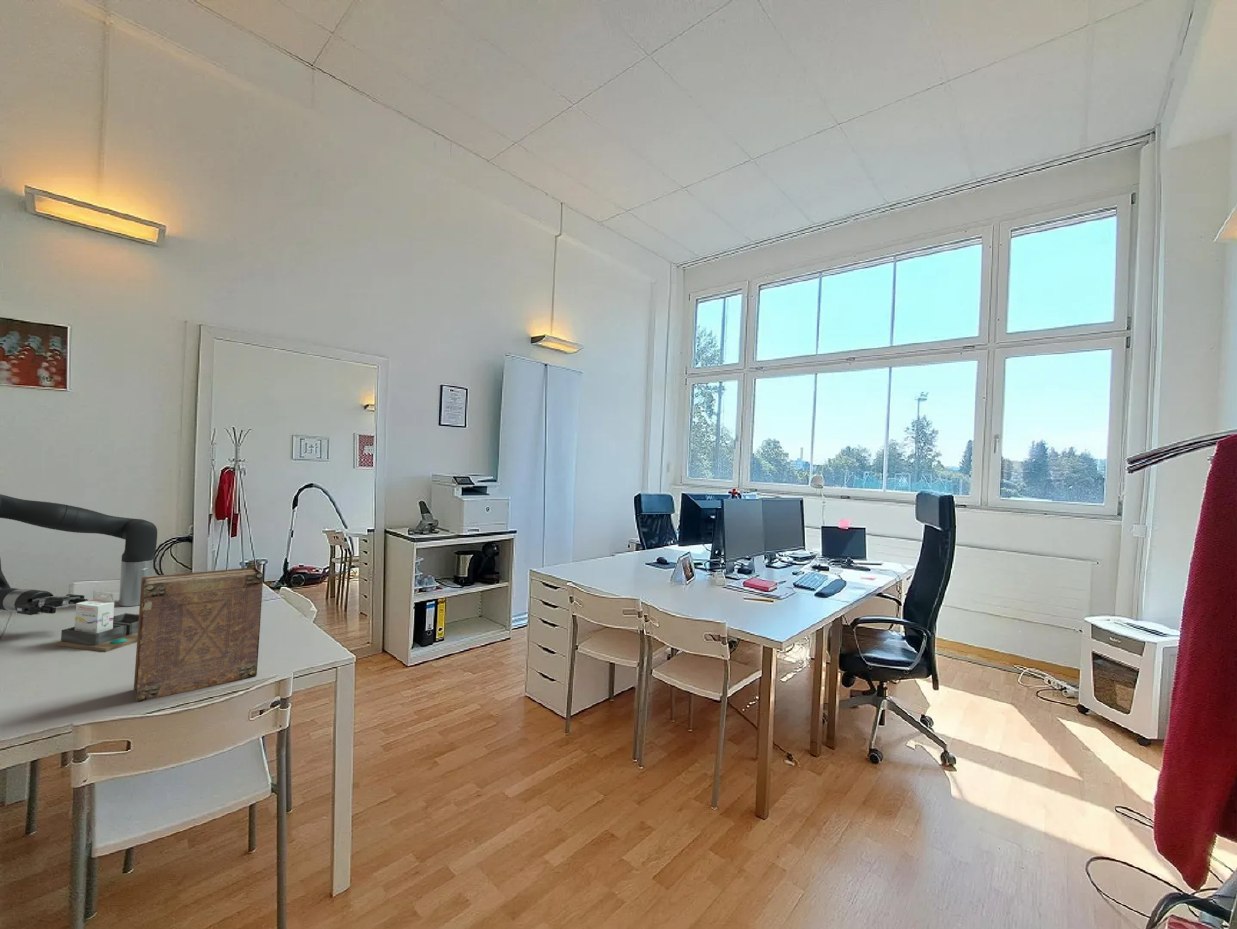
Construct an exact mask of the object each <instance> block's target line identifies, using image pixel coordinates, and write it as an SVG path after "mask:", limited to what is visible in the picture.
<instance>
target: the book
mask: <svg viewBox="0 0 1237 929" xmlns="http://www.w3.org/2000/svg"><path fill="white" fill-rule="evenodd" d="M263 588H264V573H263V572H262V571H261V570H260V569H258V568H257V567H256V566H253V567H245V568H244V567H243V568H232V569H221V570H209V571H208V570H207V571H197V572H196V571H195V572H184V573H175V574H173V573H172V574H162V575H153V576H148V577H143V578H142V580H141V594H140V605H139V610H138V611H139V612H138V615H139V622H138V636H137V642H136V651H135V652H136V656H135V668H134V681H133V690H135V691H136V703H140V702H145V701H149V700H154V699H158V698H159V699H160V698H164V697H167V696H172V695H177V694H182V693H186V692H191V691H195V690H199V689H203V688H204V689H205V688H209V687H213V686H217V685H223V684H226V683H231V682H236V681H240V680H245V679H249V678H254V677H257V675H258V661H259V647H260V646H259V645H260V632H261V630H260V629H261V618H262V617H261V615H262V603H263V602H262V601H263V600H262V599H263Z"/></svg>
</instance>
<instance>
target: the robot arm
mask: <svg viewBox="0 0 1237 929" xmlns="http://www.w3.org/2000/svg"><path fill="white" fill-rule="evenodd" d="M0 519H6V520H11V521H12V520H13V521H16V522H17V521H18V522H20V523H25V524H27V525H32V526H36V527H40V528H43V529H44V528H45V529H49V530H56V531H63V532H68V533H78V534H99V535H105V536H110V537H113V538H114V537H115V538H119V539H122V540H124V541H125V543H124V551H123V553H122V555H121V560H120V561H121V565H120V577H119V578H120V580H119V581H120V582H119V596H118V597H119V598H118V605H119V606H121V607H134V606H135V607H137V606H140V594H141V580H142V578H143V577H148V576H154V558H155V554H156V551H157V544H158V542H157V541H158V528H157V526H156V525H155V524H154V523H153V522H151V521H149V520H145V519H142V518H132V517H131V518H130V517H120V516H116V515H115V516H113V515H110V514H109V515H108V514H105V513H102V512H100V511H99V512H98V511H95V510H93V509H92V510H91V509H88V508H84V507H78V506H74V505H69V504H64V503H58V502H51V501H39V500H38V501H37V500H31V499H30V500H29V499H22V498H17V497H13V496H8V495H4V494H1V493H0ZM1 562H2V560H1V558H0V611H9V612H13V613H17V614H19V615H20V614H21V615H27V616H33V615H36V616H37V615H41V614H55V613H56V612H57V610H56V609H59V608H61V609H62V608H68V607H70V606H76V603H80V602H85V601H89V599H88V598H85V594H84V595H82V594H74V593H73V594H70V593H68V594H66V595H64V596H61V595H60V596H58V595H54V594H53V593H52V592H50V591H48V590H39V589H31V588H15V587H14V588H13V587H11V586H10V584H9V582H8V581H7V579H6V576H5V575H4V572H3V569H2V563H1ZM63 603H64V604H63Z"/></svg>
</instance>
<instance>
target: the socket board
mask: <svg viewBox="0 0 1237 929" xmlns="http://www.w3.org/2000/svg"><path fill="white" fill-rule="evenodd" d="M138 622H139V613H138V614H137V613H129V612H128V613H127V612H125V613H121V614H117V615H114V617H113V629H110V630H107V631H103V632H100V633H91V632H83V631H75V626H72V627H69V628H65V629H61V633H60V641H56V646H59V647H66V646H67V647H69V648H75V649H81V650H89V651H97V652H106V653H107V652H110V651H112V650H113V651H114V650H117V649H119V648H122V647H125V646H128V645H132V644H134V643H137V636H138Z"/></svg>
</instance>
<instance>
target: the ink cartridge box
mask: <svg viewBox="0 0 1237 929" xmlns="http://www.w3.org/2000/svg"><path fill="white" fill-rule="evenodd" d="M114 597H115V595H114V593H113V592H108V591H100V590H93V591H92V599H90V600H89V599H88V601H85V602H80V603H76V605H75V617H74V627H75V631H83V632H91V633H100V632H103V631H107V630H110V629H113V617H114V616H115V614H114V613H115V612H114V611H115V598H114Z"/></svg>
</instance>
